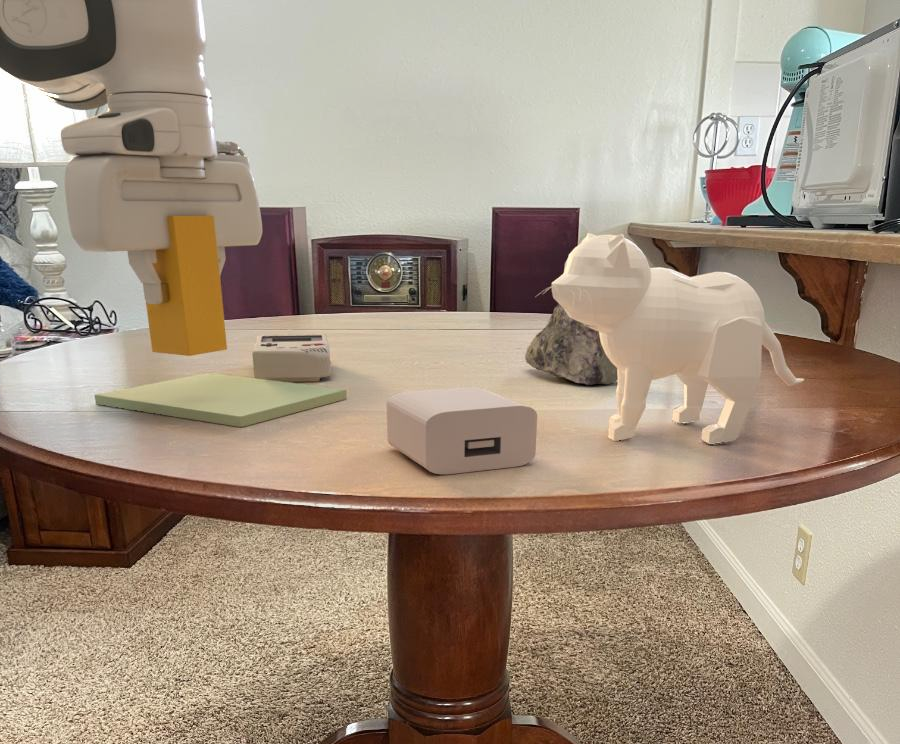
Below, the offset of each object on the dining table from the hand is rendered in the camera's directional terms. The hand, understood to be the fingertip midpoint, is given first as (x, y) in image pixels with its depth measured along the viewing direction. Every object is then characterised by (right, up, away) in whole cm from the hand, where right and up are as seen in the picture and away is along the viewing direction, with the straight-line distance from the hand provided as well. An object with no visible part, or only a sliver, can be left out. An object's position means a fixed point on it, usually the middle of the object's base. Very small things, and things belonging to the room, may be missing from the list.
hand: (183, 300), depth 84 cm
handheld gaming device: (+6, 0, +26) cm, 26 cm away
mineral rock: (+40, -2, +23) cm, 46 cm away
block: (0, -4, +2) cm, 5 cm away
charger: (+25, -16, -9) cm, 31 cm away
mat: (+2, -8, +9) cm, 12 cm away
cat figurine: (+45, -13, -4) cm, 47 cm away
